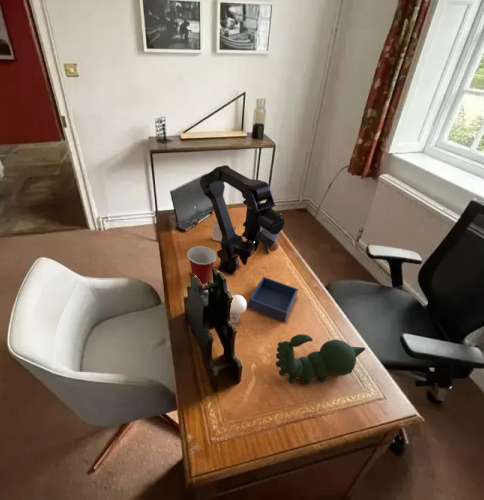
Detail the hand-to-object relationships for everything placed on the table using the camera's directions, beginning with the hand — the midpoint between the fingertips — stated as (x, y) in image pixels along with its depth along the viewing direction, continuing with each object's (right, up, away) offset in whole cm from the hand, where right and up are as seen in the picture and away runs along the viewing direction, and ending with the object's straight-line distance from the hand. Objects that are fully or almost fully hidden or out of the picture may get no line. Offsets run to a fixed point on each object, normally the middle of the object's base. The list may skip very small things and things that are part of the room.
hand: (249, 257), depth 112 cm
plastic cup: (-17, -8, +9) cm, 21 cm away
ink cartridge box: (-8, +7, +30) cm, 32 cm away
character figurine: (+10, +4, +28) cm, 30 cm away
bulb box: (+8, -16, 0) cm, 18 cm away
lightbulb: (-6, -21, -8) cm, 23 cm away
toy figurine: (+16, -33, -22) cm, 43 cm away
